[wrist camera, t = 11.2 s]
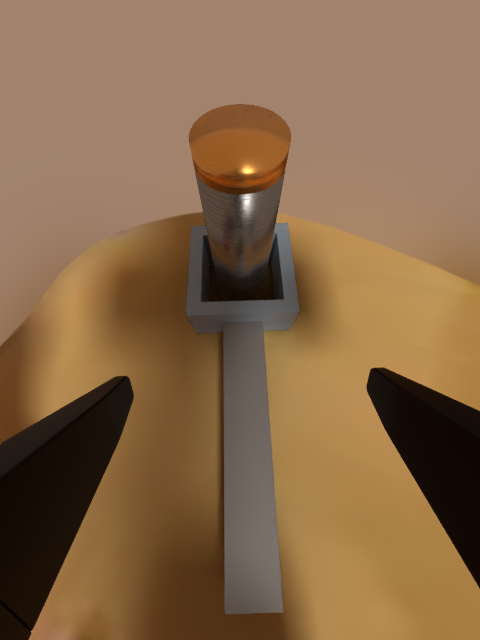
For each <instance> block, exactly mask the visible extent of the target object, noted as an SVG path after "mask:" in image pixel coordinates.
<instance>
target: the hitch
mask: <svg viewBox="0 0 480 640" xmlns="http://www.w3.org/2000/svg"><path fill="white" fill-rule="evenodd" d="M269 262H271V267H272V277H273V288H274V298H275V300H252V301H222V302H209V268H210V264H214V263H213V258H212V253H211V248H210V243H209V238H208V233H207V228H206V226H191V237H190V254H189V271H188V288H187V305H186V317H187V318H188V320H189V321H190V323H191V325H192V326H193V328H194V330H195V331H196V333H214V332H223V353H224V555H225V615H226V614H255V613H283V602H282V588H281V574H280V560H279V546H278V532H277V518H276V504H275V490H274V476H273V462H272V448H271V434H270V420H269V406H268V391H267V377H266V363H265V349H264V335H263V331H275V330H289V329H290V328H291V326H292V324H293V323H294V321H295V319H296V318H297V316H298V314H299V313H300V308H299V301H298V294H297V286H296V279H295V272H294V264H293V257H292V250H291V242H290V235H289V228H288V223H276V224H275V229H274V235H273V240H272V245H271V251H270V256H269Z"/></svg>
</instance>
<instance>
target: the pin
mask: <svg viewBox="0 0 480 640" xmlns="http://www.w3.org/2000/svg"><path fill="white" fill-rule="evenodd" d="M290 142H291V132H290V129H289V127H288V125H287V124H286V122H285V121H284V120H283V119H282V118H281V117H280V116H278V115H277V114H276V113H274V112H272V111H270V110H268V109H265V108H262V107H258V106H254V105H244V104H236V105H228V106H223V107H219V108H216V109H213V110H211V111H209V112H207V113H206V114H204V115H202V116H201V117H200V118H199V119H198V120H197V121H196V122H195V123H194V124H193V126H192V128H191V130H190V133H189V143H190V148H191V153H192V158H193V163H194V168H195V173H196V178H197V183H198V188H199V193H200V198H201V203H202V208H203V213H204V218H205V223H206V228H207V233H208V238H209V243H210V248H211V253H212V258H213V263H214V268H215V273H216V278H217V283H218V288H219V293H220V298H221V300H222V301H252V300H261V298H262V295H263V289H264V284H265V278H266V273H267V267H268V262H269V256H270V251H271V245H272V240H273V235H274V229H275V224H276V218H277V213H278V207H279V202H280V196H281V190H282V185H283V180H284V175H285V169H286V163H287V158H288V153H289V147H290Z"/></svg>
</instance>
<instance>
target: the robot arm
mask: <svg viewBox="0 0 480 640" xmlns="http://www.w3.org/2000/svg"><path fill="white" fill-rule="evenodd" d="M367 392H368V394H369V396H370V399H371V401H372V403H373V405H374V407H375V409H376V411H377V413H378V416H379V418H380V420H381V422H382V424H383V426H384V428H385V430H386V432H387V434H388V435H389V437H390V439H391V441H392V442H393V444H394V446H395V447H396V449H397V451H398V452H399V454H400V456H401V457H402V459H403V461H404V462H405V464H406V466H407V467H408V469H409V471H410V472H411V474H412V476H413V477H414V479H415V481H416V482H417V484H418V486H419V487H420V489H421V491H422V492H423V494H424V496H425V498H426V499H427V501H428V503H429V504H430V506H431V508H432V509H433V511H434V513H435V514H436V516H437V518H438V519H439V521H440V523H441V524H442V526H443V528H444V529H445V531H446V533H447V534H448V536H449V538H450V539H451V541H452V543H453V544H454V546H455V548H456V549H457V551H458V553H459V555H460V556H461V558H462V560H463V561H464V563H465V565H466V566H467V568H468V570H469V571H470V573H471V575H472V576H473V578H474V580H475V581H476V583H477V585H478V586H479V588H480V411H478V410H476V409H474V408H472V407H470V406H467V405H465V404H463V403H461V402H459V401H456V400H454V399H452V398H450V397H448V396H445V395H443V394H441V393H439V392H437V391H434V390H432V389H430V388H428V387H426V386H423V385H421V384H419V383H417V382H415V381H412V380H410V379H408V378H406V377H404V376H401V375H399V374H397V373H395V372H393V371H390V370H388V369H386V368H372V369H371V370H370V373H369V378H368V382H367ZM133 398H134V394H133V390H132V386H131V382H130V379H129V377H127V376H116V377H114V378H112V379H111V380H109V381H107V382H105V383H104V384H102V385H100V386H99V387H97V388H95V389H93V390H92V391H90V392H88V393H87V394H85V395H83V396H81V397H80V398H78V399H76V400H75V401H73V402H71V403H69V404H68V405H66V406H64V407H62V408H61V409H59V410H57V411H56V412H54V413H52V414H50V415H49V416H47V417H45V418H44V419H42V420H40V421H38V422H37V423H35V424H33V425H32V426H30V427H28V428H26V429H25V430H23V431H21V432H19V433H18V434H16V435H14V436H13V437H11V438H9V439H7V440H6V441H4V442H2V443H1V445H0V640H29V637H30V635H31V631H32V630H33V628H34V626H35V624H36V622H37V619H38V617H39V615H40V613H41V611H42V608H43V606H44V604H45V602H46V600H47V597H48V595H49V593H50V591H51V589H52V587H53V584H54V582H55V580H56V578H57V576H58V573H59V571H60V569H61V567H62V565H63V562H64V560H65V558H66V556H67V554H68V552H69V549H70V547H71V545H72V543H73V541H74V538H75V536H76V534H77V532H78V530H79V527H80V525H81V523H82V521H83V519H84V517H85V514H86V512H87V510H88V508H89V506H90V503H91V501H92V499H93V497H94V495H95V492H96V490H97V488H98V486H99V484H100V482H101V479H102V477H103V475H104V473H105V471H106V468H107V466H108V464H109V462H110V460H111V457H112V455H113V453H114V451H115V449H116V446H117V444H118V442H119V440H120V437H121V434H122V431H123V428H124V425H125V422H126V420H127V417H128V414H129V411H130V408H131V405H132V402H133Z"/></svg>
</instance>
